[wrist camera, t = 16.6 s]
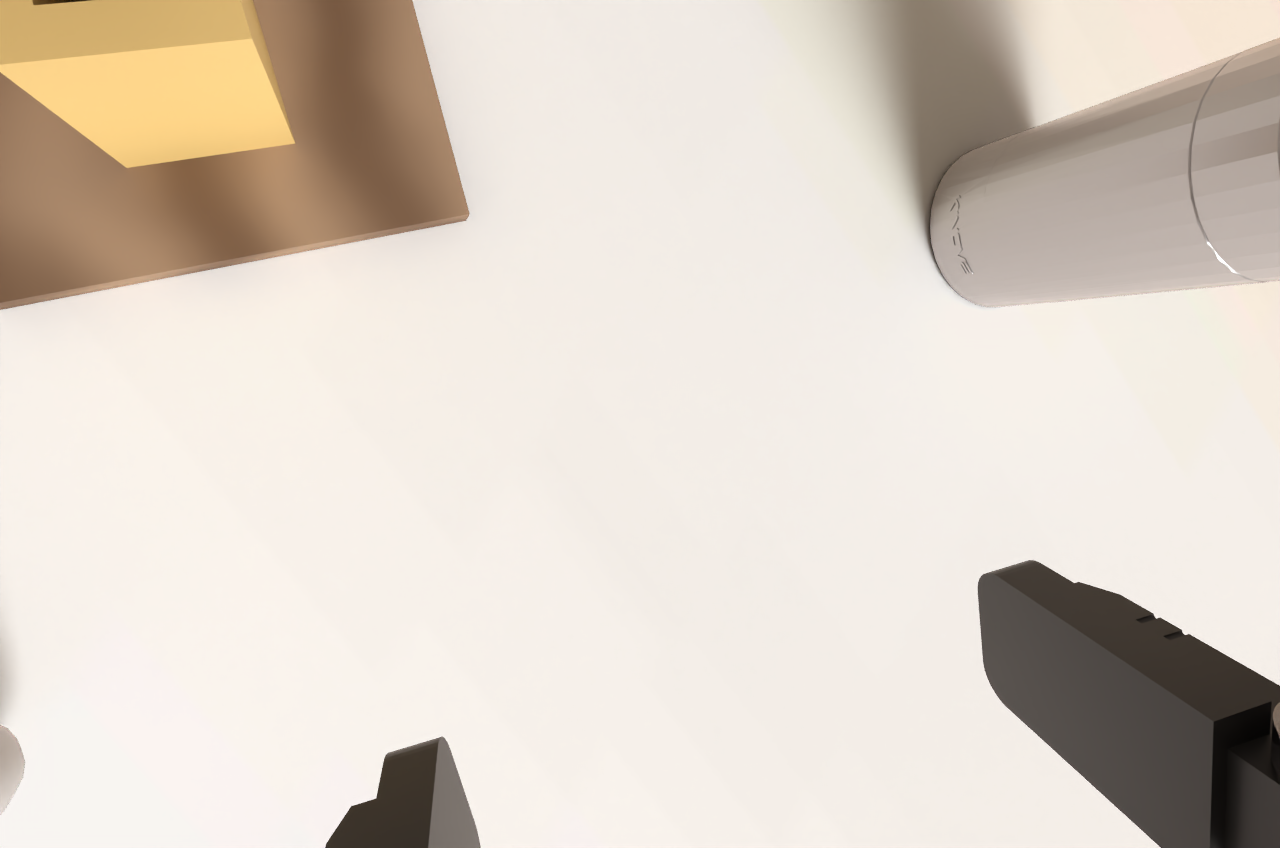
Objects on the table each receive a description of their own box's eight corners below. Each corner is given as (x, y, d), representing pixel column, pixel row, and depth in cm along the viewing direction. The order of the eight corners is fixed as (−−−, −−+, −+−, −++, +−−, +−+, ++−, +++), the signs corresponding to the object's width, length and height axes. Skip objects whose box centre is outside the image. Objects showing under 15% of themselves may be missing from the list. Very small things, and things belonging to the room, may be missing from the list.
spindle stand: (376, -113, 31) (367, -510, 17) (465, 220, 33) (524, 114, 19) (-151, -85, 26) (-803, -630, 12) (-2, 309, 28) (-398, 254, 14)
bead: (248, -15, 28) (179, -204, 19) (295, 143, 29) (252, 38, 20) (70, 0, 27) (-103, -200, 17) (126, 167, 28) (-9, 65, 18)
